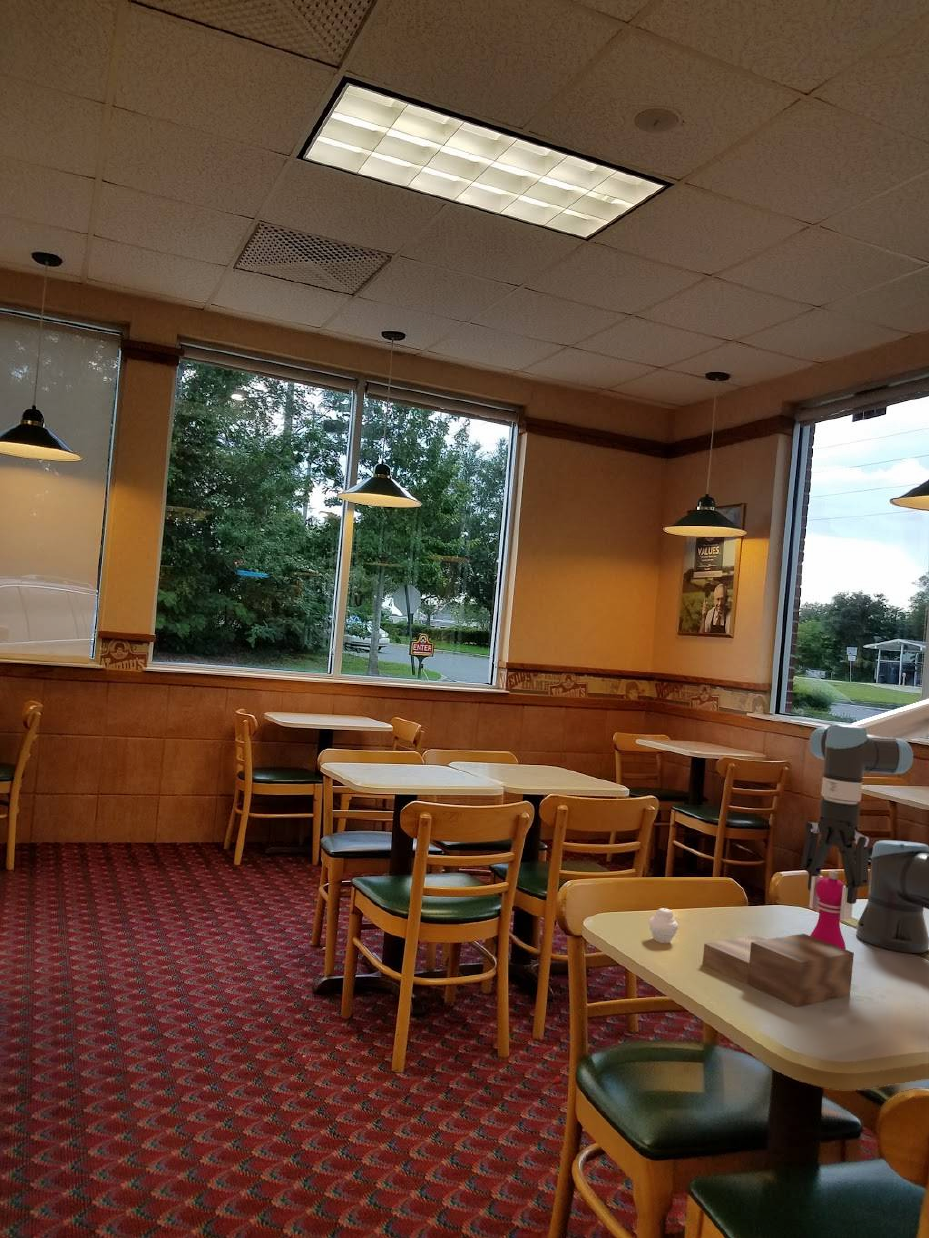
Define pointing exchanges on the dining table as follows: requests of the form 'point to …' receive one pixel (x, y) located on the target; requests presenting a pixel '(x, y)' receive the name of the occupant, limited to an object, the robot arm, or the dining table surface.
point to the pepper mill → (829, 911)
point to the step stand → (785, 966)
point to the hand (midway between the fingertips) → (829, 912)
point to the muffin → (663, 925)
